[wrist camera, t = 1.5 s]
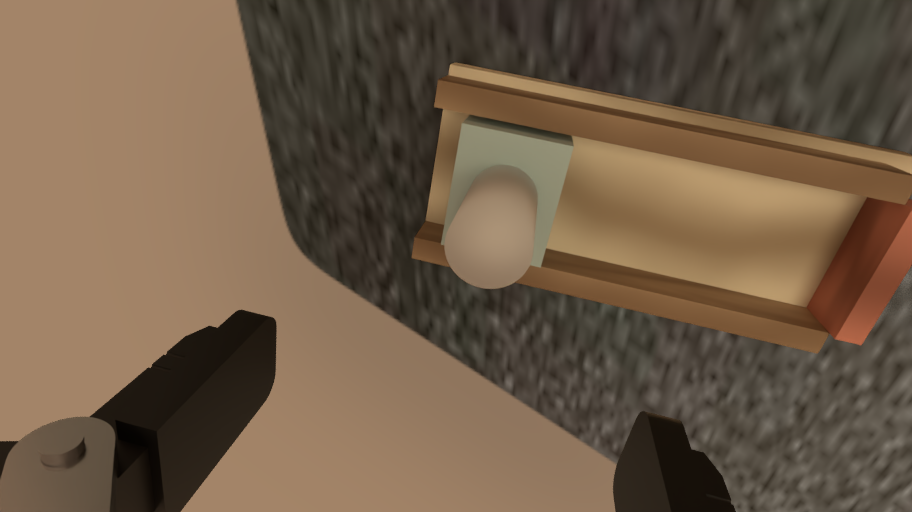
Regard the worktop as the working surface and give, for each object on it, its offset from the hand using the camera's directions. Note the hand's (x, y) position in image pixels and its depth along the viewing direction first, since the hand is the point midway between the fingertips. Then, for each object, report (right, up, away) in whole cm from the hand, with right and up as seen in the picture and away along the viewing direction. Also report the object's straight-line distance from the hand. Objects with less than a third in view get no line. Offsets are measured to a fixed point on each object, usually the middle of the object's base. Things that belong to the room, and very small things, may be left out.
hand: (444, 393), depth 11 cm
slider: (+3, +7, +15) cm, 17 cm away
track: (+10, +6, +16) cm, 20 cm away
